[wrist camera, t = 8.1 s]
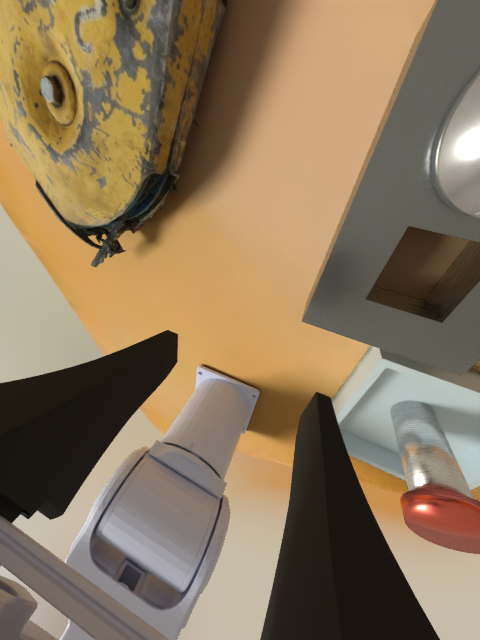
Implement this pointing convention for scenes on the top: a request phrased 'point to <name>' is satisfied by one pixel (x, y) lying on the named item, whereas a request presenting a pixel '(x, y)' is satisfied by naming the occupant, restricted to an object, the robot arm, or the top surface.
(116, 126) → the pulley block
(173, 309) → the top surface
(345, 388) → the tray
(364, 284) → the bracket
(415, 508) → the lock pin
